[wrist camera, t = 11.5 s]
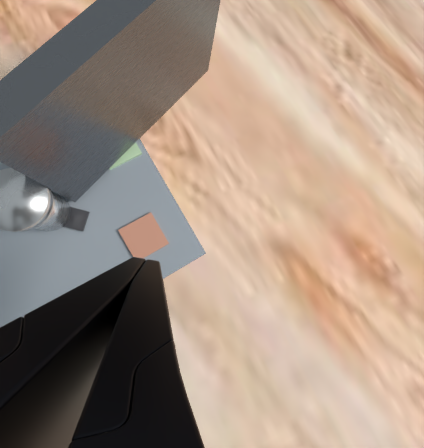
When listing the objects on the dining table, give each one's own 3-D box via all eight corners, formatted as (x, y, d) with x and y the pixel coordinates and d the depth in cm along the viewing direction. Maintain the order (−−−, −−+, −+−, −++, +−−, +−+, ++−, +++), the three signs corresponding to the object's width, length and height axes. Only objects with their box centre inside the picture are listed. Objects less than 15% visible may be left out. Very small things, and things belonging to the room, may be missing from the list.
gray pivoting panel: (50, 247, 14) (-73, 237, 7) (11, 213, 14) (-152, 171, 7) (216, 79, 16) (247, -53, 9) (183, 50, 16) (190, -105, 9)
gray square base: (22, 359, 16) (-8, 380, 13) (-75, 181, 16) (-123, 166, 14) (201, 253, 18) (206, 253, 15) (111, 98, 18) (101, 71, 16)
